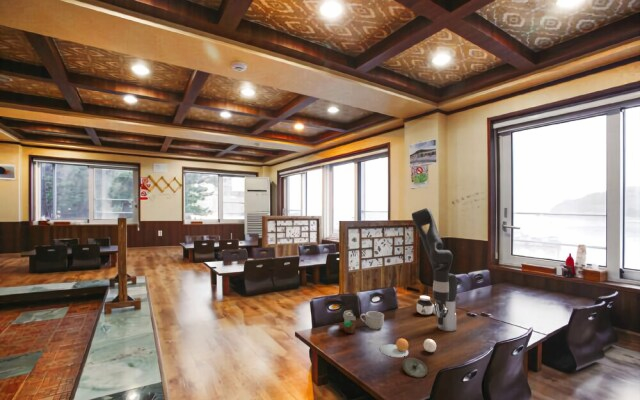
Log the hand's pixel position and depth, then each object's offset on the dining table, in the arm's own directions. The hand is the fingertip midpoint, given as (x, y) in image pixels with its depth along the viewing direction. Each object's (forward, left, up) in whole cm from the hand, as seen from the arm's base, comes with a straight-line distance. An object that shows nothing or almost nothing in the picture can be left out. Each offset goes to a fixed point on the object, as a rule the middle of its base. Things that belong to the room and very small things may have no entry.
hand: (440, 324), depth 158 cm
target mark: (+23, 0, -13) cm, 27 cm away
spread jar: (-15, -57, -14) cm, 61 cm away
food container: (+43, -25, -14) cm, 52 cm away
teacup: (+28, -31, -14) cm, 44 cm away
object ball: (+19, 0, -10) cm, 22 cm away
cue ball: (+5, 0, -10) cm, 12 cm away
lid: (+19, +20, -14) cm, 31 cm away
